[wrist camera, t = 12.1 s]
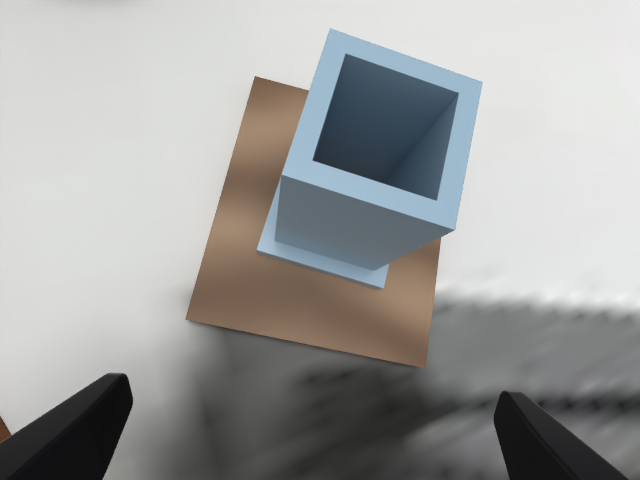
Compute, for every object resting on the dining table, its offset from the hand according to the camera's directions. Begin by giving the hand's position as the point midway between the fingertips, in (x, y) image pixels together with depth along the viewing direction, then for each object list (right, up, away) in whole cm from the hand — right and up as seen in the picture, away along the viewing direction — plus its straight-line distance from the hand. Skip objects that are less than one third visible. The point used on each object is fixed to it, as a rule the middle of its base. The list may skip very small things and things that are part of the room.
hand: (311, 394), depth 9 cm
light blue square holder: (+1, +5, +14) cm, 15 cm away
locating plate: (+1, +5, +15) cm, 16 cm away
